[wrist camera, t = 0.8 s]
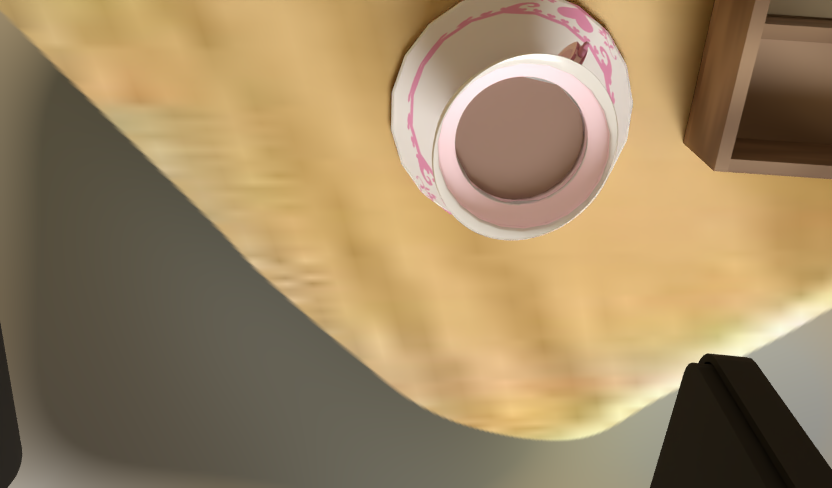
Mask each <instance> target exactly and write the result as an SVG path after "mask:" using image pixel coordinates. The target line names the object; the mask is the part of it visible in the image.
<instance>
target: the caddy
mask: <svg viewBox="0 0 832 488" xmlns="http://www.w3.org/2000/svg"><path fill="white" fill-rule="evenodd" d="M683 143H684V144H685V145H686V146H687V147H688V148H689V149H690V150H691V151H693V152H694V153H695V154H696V155H697V156H698V157H699V158H700V159H701V160H702V161H704V162H705V163H706V164H707V165H708V166H709V167H710V168H711V169H712V170H713V171H721V172H736V173H750V174H765V175H779V176H794V177H809V178H823V179H832V0H715V2H714V6H713V11H712V15H711V20H710V24H709V29H708V33H707V38H706V43H705V47H704V52H703V56H702V61H701V65H700V70H699V74H698V79H697V83H696V88H695V92H694V97H693V101H692V106H691V111H690V115H689V120H688V124H687V129H686V133H685V138H684V142H683Z"/></svg>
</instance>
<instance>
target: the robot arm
mask: <svg viewBox="0 0 832 488" xmlns="http://www.w3.org/2000/svg"><path fill="white" fill-rule="evenodd" d="M21 460H22V447H21V441H20V436H19V429H18V423H17V418H16V412H15V406H14V400H13V394H12V389H11V382H10V377H9V371H8V365H7V359H6V354H5V347H4V342H3V336H2V330H1V324H0V488H8V486H9V485H10V484H11V482H12V481H13V480H14V478H15V477H16V475H17V473H18V471H19V468H20V465H21ZM650 488H832V469H831V468H830V466H829V465H828V464H827V462H826V461H825V459H824V458H823V456H822V455H821V454H820V452H819V451H818V449H817V448H816V447H815V445H814V444H813V442H812V441H811V440H810V438H809V437H808V435H807V434H806V433H805V431H804V430H803V428H802V427H801V426H800V424H799V423H798V422H797V420H796V419H795V417H794V416H793V414H792V413H791V412H790V410H789V409H788V407H787V406H786V405H785V403H784V402H783V400H782V399H781V397H780V396H779V395H778V393H777V392H776V391H775V389H774V388H773V386H772V385H771V383H770V382H769V381H768V379H767V378H766V376H765V375H764V374H763V372H762V371H761V369H760V368H759V367H758V365H757V364H756V362H754V361H753V360H752V359H751V358H747V357H738V356H728V355H718V354H705V355H703V357H702V358H701V359H700V361H699V363H690V364H688V366H687V367H686V369H685V372H684V375H683V378H682V381H681V385H680V388H679V392H678V395H677V399H676V402H675V405H674V408H673V412H672V415H671V419H670V422H669V425H668V429H667V432H666V435H665V439H664V442H663V446H662V449H661V452H660V456H659V459H658V463H657V466H656V469H655V473H654V476H653V480H652V483H651V486H650Z"/></svg>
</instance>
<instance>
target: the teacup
mask: <svg viewBox="0 0 832 488" xmlns="http://www.w3.org/2000/svg"><path fill="white" fill-rule="evenodd" d="M632 106H633V100H632V94H631V88H630V82H629V76H628V70H627V65H626V63H625V61H624V59H623V58H622V56H621V54H620V52H619V50H618V49H617V47H616V45H615V43H614V41H613V39H612V38H611V36H610V34H609V32H608V31H607V30H606V29H605V28H603V27H602V26H601V25H600V24H599V23H598V22H597V21H595V20H594V19H593V18H592V17H591V16H590V15H589V14H588V13H586V12H585V11H584V10H583V9H582V8H581V7H580V6H578V5H576V4H573V3H571V2H568V1H566V0H463V1H461V2H459V3H458V4H457V5H455V6H454V7H452V8H451V9H449V10H448V11H446V12H445V13H444V14H442V15H441V16H439V17H438V18H436V19H435V20H433V21H432V22H431V23H429V24H428V26H427V27H426V28H425V29H424V31H423V32H422V33H421V35H420V36H419V37H418V39H417V40H416V41H415V43H414V44H413V45H412V47H411V48H410V49H409V50H408V52H407V53H406V54H405V56H404V59H403V62H402V65H401V68H400V71H399V73H398V76H397V79H396V82H395V85H394V88H393V91H392V110H391V131H392V134H393V138H394V141H395V144H396V147H397V151H398V154H399V157H400V160H401V164H402V165H403V167H404V168H405V170H406V171H407V172H408V174H409V175H410V177H411V178H412V180H413V181H414V182H415V184H416V185H417V187H418V188H419V189H420V191H421V192H422V193H423V194H424V195H425V196H427V197H428V198H429V199H431V200H432V201H433V202H435V203H436V204H437V205H439V206H440V207H441V208H443V209H444V210H445V211H447V212H448V213H449V214H452V215H453V216H454V217H455V218H456V219H457V220H458V221H459V222H460V223H462V224H463V225H464V226H466V227H467V228H469V229H470V230H472V231H474V232H476V233H478V234H480V235H483V236H486V237H489V238H494V239H500V240H523V239H529V238H534V237H538V236H542V235H545V234H547V233H550V232H552V231H554V230H556V229H558V228H560V227H562V226H564V225H565V224H567V223H569V222H570V221H571V220H573V219H574V218H576V217H577V216H578V215H579V214H580V213H582V212H583V211H584V210H585V209H586V208H587V207H588V206H589V205H590V204H591V202H592V201H593V200H594V199H595V198H596V196H597V195H598V194H599V192H600V191H601V189H602V188H603V186H604V184H605V182H606V180H607V178H608V176H609V174H610V173H611V171H612V169H613V167H614V165H615V163H616V161H617V159H618V157H619V155H620V153H621V151H622V149H623V147H624V145H625V143H626V141H627V137H628V131H629V125H630V118H631V112H632Z"/></svg>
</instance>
